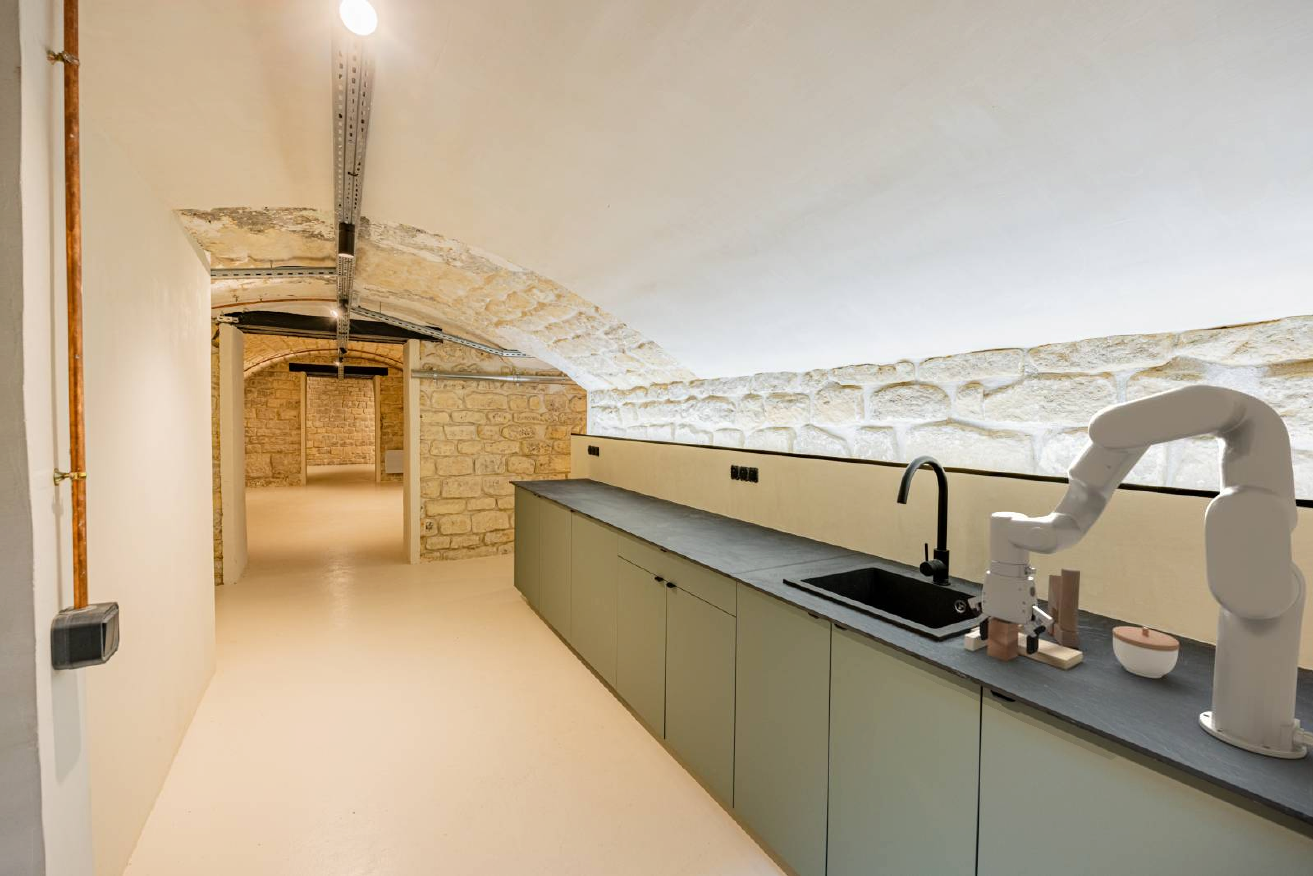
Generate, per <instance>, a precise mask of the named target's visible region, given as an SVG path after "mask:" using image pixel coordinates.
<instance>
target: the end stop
mask: <svg viewBox="0 0 1313 876" xmlns="http://www.w3.org/2000/svg"><path fill="white" fill-rule="evenodd" d="M963 643H964V645H963V649H965V650H969V651H972V652H974V651H977V650H979V649H981V648H984V647H986V646H987V647H988V639H987V640H984V641H983V640H981V635H980V633H979V630H977V631H975V632H972V633H971V632H970V633H965V634H964V642H963Z"/></svg>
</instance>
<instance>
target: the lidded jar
mask: <svg viewBox="0 0 1313 876" xmlns="http://www.w3.org/2000/svg"><path fill="white" fill-rule="evenodd" d="M1112 647H1113V652H1114V654H1115V657H1116V659H1117V660H1118V662H1119V663H1120V664H1121V665H1122V666H1124V669H1125V670H1126V671H1128V672H1129V673H1131V674H1134V675H1137V676H1140V677H1144V678H1150V679H1161V678H1163V676H1165V675H1166V674H1168V673H1170V672H1171V671H1173V669H1174V668H1175V667H1176V664H1177V661H1178V656H1179V649H1180V642H1179V641H1178V640H1177V639H1176V638H1174V636H1173V637H1172V636H1171V635H1168V634H1167V633H1166V634H1165V633H1162V632H1159V631H1156V630H1152V629H1149V628H1148V627H1146V626H1144V627H1135V626H1126V625H1125V626H1121V625H1120V626H1116V627H1113V628H1112Z"/></svg>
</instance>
